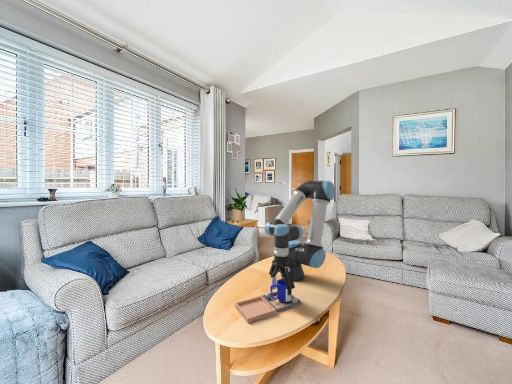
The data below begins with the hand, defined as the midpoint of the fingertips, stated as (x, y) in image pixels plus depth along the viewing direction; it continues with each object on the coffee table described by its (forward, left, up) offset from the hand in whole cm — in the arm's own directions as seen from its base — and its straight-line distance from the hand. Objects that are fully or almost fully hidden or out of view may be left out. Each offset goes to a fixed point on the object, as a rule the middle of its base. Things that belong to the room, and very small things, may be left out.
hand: (280, 294), depth 120 cm
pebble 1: (+5, -5, -4) cm, 8 cm away
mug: (0, 0, -4) cm, 4 cm away
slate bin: (0, 0, -4) cm, 4 cm away
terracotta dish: (+16, +1, -4) cm, 16 cm away
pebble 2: (-5, +5, -4) cm, 8 cm away
